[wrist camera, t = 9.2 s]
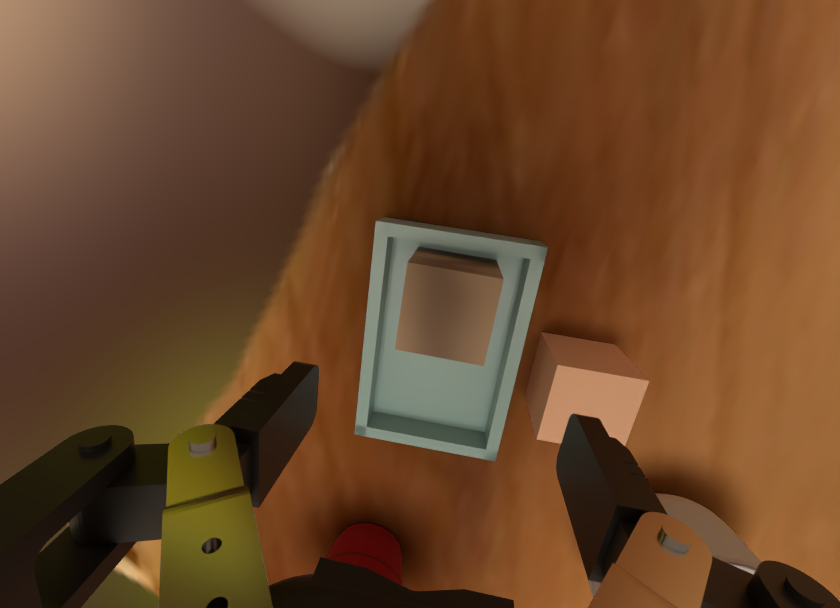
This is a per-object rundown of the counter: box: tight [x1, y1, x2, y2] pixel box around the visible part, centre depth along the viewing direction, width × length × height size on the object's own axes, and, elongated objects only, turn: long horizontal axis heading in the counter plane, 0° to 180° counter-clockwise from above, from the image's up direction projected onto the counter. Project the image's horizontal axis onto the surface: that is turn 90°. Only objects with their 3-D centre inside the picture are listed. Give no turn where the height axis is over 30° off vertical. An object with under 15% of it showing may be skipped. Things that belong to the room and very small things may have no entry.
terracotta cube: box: [525, 332, 649, 446], centre depth 24 cm, size 5×5×5 cm
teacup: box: [588, 493, 761, 598], centre depth 26 cm, size 14×11×8 cm
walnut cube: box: [395, 247, 504, 366], centre depth 23 cm, size 5×5×5 cm
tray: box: [355, 217, 548, 461], centre depth 26 cm, size 10×15×2 cm, turn 172°
